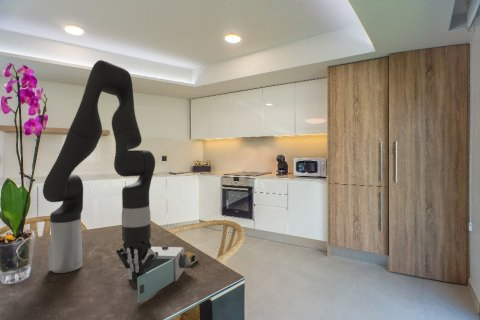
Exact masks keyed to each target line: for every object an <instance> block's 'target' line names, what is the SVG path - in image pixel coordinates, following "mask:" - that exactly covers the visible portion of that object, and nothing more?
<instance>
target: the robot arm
mask: <svg viewBox="0 0 480 320" xmlns="http://www.w3.org/2000/svg"><path fill="white" fill-rule="evenodd" d="M132 80H133V79H132V76H131V74H130V72H129V71H128V70H127V69H125V68H124V67H121V66H119V65H116V64H114V63H112V62H110V61H107V60H103V59H99V60H97V61H96V62H95V63H93V66H92V67H91V70H90V73H89V75H88V80H87V83H86V85H85V88H84V92H83V95H82V98H81V101H80V103H79V106H78V109H77V111H76V114H75V116H74V118H73V120H72V123H71V125H70V127H69V129H68V131H67V135H66V137H65V139H64V142H63V145H62V147H61V149H60V151H59V153H58V156H57V157H56V159H55V161H54V163H53V165H52V167H51V169H50V170H49V172H48V174H47V176H46V178H45V180H44V183H43V186H42V194H43V198H44V199H45V200H46V201H47V202H50V203H60V202H62V204H61V205H60V206H59V207H58V208H57V209H55V210H54V211H52V212H51V213H50V215H49V219H50V221H49V223H50V242H49V243H48V245H47V247H48V249H47V251H48V270H49V271H50V272H52V273H55V274H64V273H71V272H73V271H76V270H78V269H80V268H82V267H83V248H82V247H83V245H82V244H83V241H82V238H83V237H82V219H81V218H82V212H83V209H84V185H83V180H82V178H81V177H80V176H79V175H78V174H75V173H73V172H74V170H75V169H76V168H77V167H78V166H79V165H80V164H81V163H83V161H85V160H86V159H87V158H88V157H89V156H90V155H91V154H93V152H95V149H96V148H97V146H98V143H99V141H100V139H101V137H102V133H103V126H102V122H101V117H100V113H99V108H98V107H99V104H98V103H99V99H100V97H101V94H102V92H103V93H106V94H108V95H113V96H116V98H117V100H118V106H117V108H116V110H115V111H114V112H113V115H112V117H111V128H112V132H113V133H112V134H113V137H114V141H115V153H114V154H115V156H114V162H113V168H114V170H115V172H116V173H117V175H119V176H121V177H123V178H124V177H125V178H127V177H138V178H137V180H136V182H133V183H130V184H128V185H125V186H123V187H122V190H121V199H122V200H121V203H122V204H121V206H122V207H121V239H122V241H123V243H122V247H120V248H119V249H117V250H116V255H117V256H118V257H119V259H120V260H121V263H122V264H123V266H124V267H125V269H127V270H128V268H129V269H130V270H131V271H132V280H131V281H132V284H133V285H135V286H138V284H137V277H139V276H141V275H143V274H144V273H143V271H144V270H146V269H147V268H149V267H150V266H151V264H152V263H153V262H154V260H155V259H156V257H157V256H158V252H154V251H153V250H152V249H151V247H152V244H151V241H150V240H151V236H152V230H151V229H152V225H151V221H152V219H151V209H150V187H151V184H152V180H153V175H154V172H155V167H156V158H155V156H154V154H153V152H151V151H150V150H146V149H145V150H143V149H141V150H138V149H137V150H135V149H136V148H138V147H139V146H141V144H142V135H141V131H140V128H139V125H138V122H137V116H136V111H135V101H134V100H135V99H134V89H133V81H132ZM147 254H148V255H147ZM146 255H147V259H146Z"/></svg>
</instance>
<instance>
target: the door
mask: <svg viewBox="0 0 480 320" xmlns="http://www.w3.org/2000/svg"><path fill="white" fill-rule="evenodd" d="M173 282H177V281H176V273H175V258H172V260H170V261H168V262H166V263H164V264H162V265H160V266H158V267H156V268H154V269H152V270H150V271H149V272H147V273H145V274H143V275H141V276H139V277H137V284H138V285H137V303H138V304H139V303H141V302H143V301H145V300H146V299H148V298H149V297H151V296H153V295H154V294H156V293H157V292H159V291H161V290H162V289H164V288H165V287H167V286H169V285H170V284H171V283H173Z"/></svg>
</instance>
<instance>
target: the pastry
mask: <svg viewBox="0 0 480 320" xmlns="http://www.w3.org/2000/svg"><path fill="white" fill-rule="evenodd" d="M184 254H187V257H188V262H187V266H186V267H190V266H192V265H193V264H194V263H196V262H197V261H198V255H197V254H196V253H195V252H193V253H192V252H189V251H186V252H184Z"/></svg>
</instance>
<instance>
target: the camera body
mask: <svg viewBox="0 0 480 320" xmlns="http://www.w3.org/2000/svg"><path fill="white" fill-rule="evenodd" d="M151 249H152V250H153V251H154V252H158V256H157V257H156V259H155V260H154V262H153V263H152V264H151V266H150V267H149V268H147V269H146V270H144V271H143V273H144V274H145V273H147V272H149V271H150V270H152V269H154V268H156V267H158V266H160V265H162V264H164V263H166V262H168V261H170V260H172V258H175V273H176V281H175V282H177V281H178V280H179V278H180V277H181V275H182V274H183V272H184V271H185V269H186V268H187V267H188V266H187V262H188V257H187V254H184V253H185V252H184V251H185V249H184V247H181V246H179V247H178V246H168V244H167V245H166V244H164V245H162V246H151ZM147 255H148V254H147ZM147 255H146V259H147ZM127 280H131V281H132V271H131V270H130V269H129V268H128V269H127Z"/></svg>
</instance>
